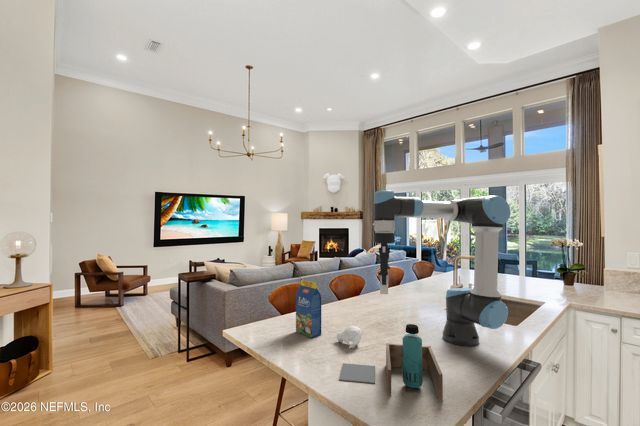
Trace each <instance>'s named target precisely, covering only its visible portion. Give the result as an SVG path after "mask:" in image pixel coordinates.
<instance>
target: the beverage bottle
mask: <svg viewBox="0 0 640 426" xmlns="http://www.w3.org/2000/svg"><path fill="white" fill-rule="evenodd" d="M405 333H407V334H405V335H403V336H402V337H401V339H402V345H403V359H402V360H403V363H402V367H401V368H402V383H403V384H404V385H406V386H407V387H410V388H414V389H415V388H420V387H422V385H423V382H424V381H423V369H422V367H423V366H422V346H423V339H422V337H420V336H419V335H417V334H419V333H420V330H419V326H418V325H416V324H413V323H408V324H406V326H405Z"/></svg>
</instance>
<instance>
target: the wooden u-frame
mask: <svg viewBox="0 0 640 426" xmlns="http://www.w3.org/2000/svg"><path fill="white" fill-rule="evenodd" d="M402 359H403V343H402V344H401V343H400V344H399V343H389V342H388V343H387V342H386V344H385V362H386V363H385V365H386V366H385V367H386V369H385V370H386V381H387V383H386V384H387V385H386V386H387V397H392V367H393V368H394V367H395V368H403V367H402V363H403V360H402ZM422 366H423V367H422V370H426V371H427V370H428V372H429V375H430V379H431V381H432V383H433V386H434V387H433V388H434V390H435V392H436V395H437V399H438V401H439V402H444V394H443V393H444V391H443V387H444V386H443V385H444V384H443V382H444V381H443V376H444V375H443V372H442V369H441V368H440V366H439V362H438V361H437V359H436V355H435V354H434V351H433V348H432V346H428V345H422Z"/></svg>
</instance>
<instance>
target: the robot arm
mask: <svg viewBox="0 0 640 426" xmlns="http://www.w3.org/2000/svg"><path fill="white" fill-rule="evenodd" d="M510 217H511V207H510V204H509V203H508V202H507V201H506V199H505V198H504V197H502V196H500V195H483V196H481V195H480V196H472V197H466V198H459V199H448V200H446V201H434V200H432V201H431V200H422V198H420V197H416V196H396V195H395V191H394V190H388V189H387V190H386V189H384V190H377V191H375V192H374V194H373V219H374V220H373V223H372V225H371V226H374V227H373V229H374V230H373V231H374V234H373V242H374V243H375V244H380V247H378V254H379V255H378V256H379V261H380V265H379V267H380V268H379V270H380V271H379V272H377V275H378V276H379V294H380V295H389V270H390V269H391V266H389V259H390V252H391V248H390V247H389V244H394V243H395V242H396V241H395V240H396V239H395V238H396V235H395V233H394V232H396V231H395V230H396V225H395V224H396V223H395V220H396V219H395V218H411V219H412V218H413V219H415V218H416V219H417V218H419V219H420V218H421V219H445V220H447V221H449V222H459V223H464V224H471V228H472V229H473V230H474V232H475V240H474V241H475V242H474V271H473V272H474V273H473V274H474V277H473V288H469V287H468V288H466V287H463V288H462V287H457V288H456V287H455V288H449V289H447V290H446V291H445V293H446V295H445V307H446V308H445V313H446V316H445V318H446V321H445V325H444V327H443V330H442V339H443V340H444V341H446V342H448V343H451V344H453V345H458V346H465V347H471V346H477V345H479V344H480V336H479V332H478V331H477V327H476V324H477V325H479V326H481V327H483V328H487V329H490V330H497V329H499V328H501V327H502V326H503V325H504V324H505V323H506V322H507V319H508V316H509V308H508V306H507V304H506V303H505V302H503V301H502V294H501V293H500V292H499V291H498V280H499V279H498V273H499V272H498V271H499V270H498V268H499V235H500V231H502V230H503V229H504V224H506V223H507V222H508V221H509V219H510Z"/></svg>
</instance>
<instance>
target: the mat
mask: <svg viewBox="0 0 640 426" xmlns="http://www.w3.org/2000/svg"><path fill="white" fill-rule="evenodd" d="M338 381H341V382H352V383H360V384H361V383H362V384H363V383H364V384H371V385H372V384H373V385H375V384H376V365H369V364H368V365H367V364H355V363H342V367H341V370H340V374H339V378H338Z"/></svg>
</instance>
